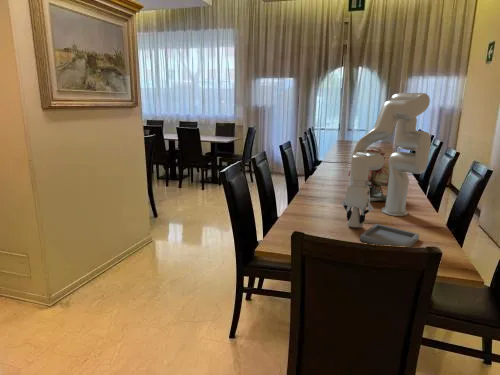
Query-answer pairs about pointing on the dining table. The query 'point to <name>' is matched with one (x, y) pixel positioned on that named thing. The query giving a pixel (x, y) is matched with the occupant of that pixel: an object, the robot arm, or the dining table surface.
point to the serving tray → (389, 236)
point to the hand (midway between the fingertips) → (355, 220)
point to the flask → (355, 218)
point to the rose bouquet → (377, 177)
